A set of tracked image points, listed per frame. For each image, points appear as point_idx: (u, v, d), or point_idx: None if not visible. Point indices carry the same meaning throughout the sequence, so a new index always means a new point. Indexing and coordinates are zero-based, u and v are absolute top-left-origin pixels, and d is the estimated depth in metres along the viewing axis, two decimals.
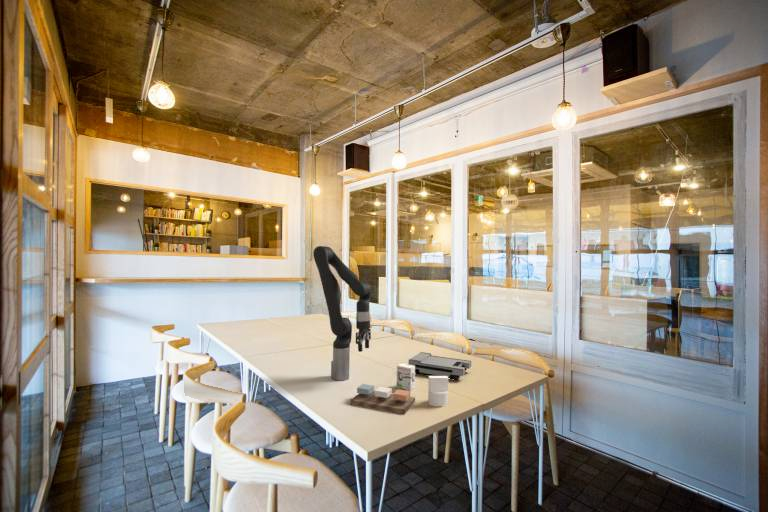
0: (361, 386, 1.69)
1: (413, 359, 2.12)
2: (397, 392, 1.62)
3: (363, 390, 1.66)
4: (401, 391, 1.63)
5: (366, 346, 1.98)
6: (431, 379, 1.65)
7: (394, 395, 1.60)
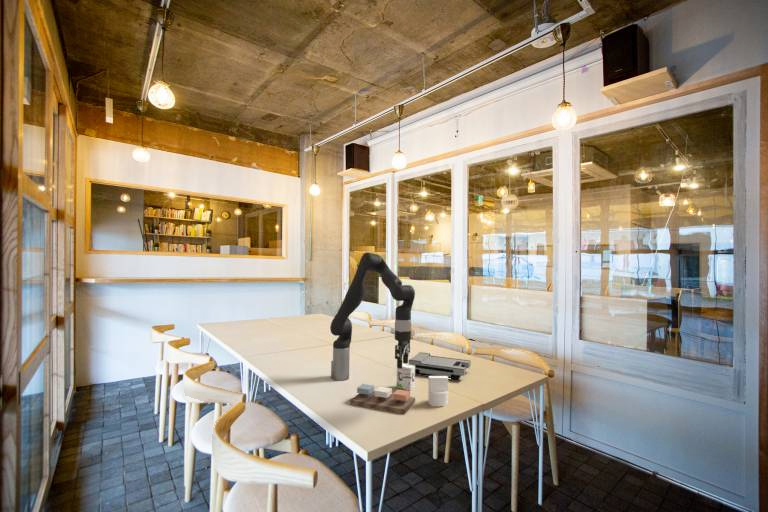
0: (361, 386, 1.69)
1: (413, 359, 2.11)
2: (397, 392, 1.62)
3: (363, 390, 1.66)
4: (401, 391, 1.63)
5: (404, 361, 1.66)
6: (431, 379, 1.65)
7: (394, 395, 1.60)
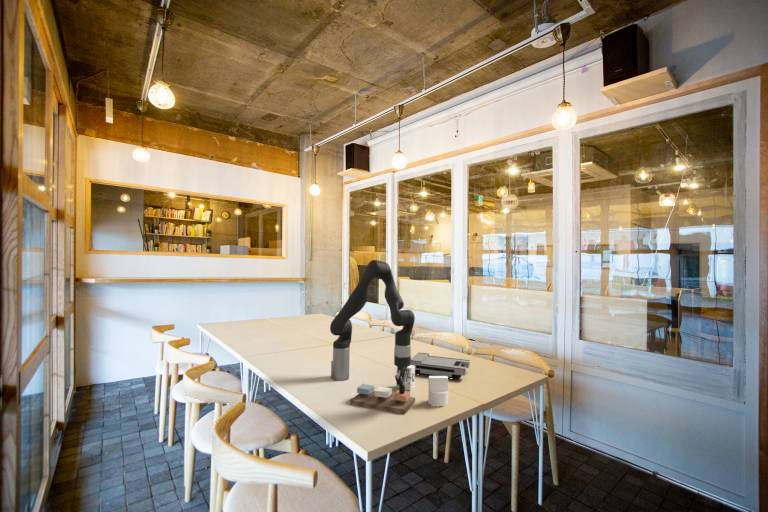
0: (361, 386, 1.69)
1: (413, 360, 2.10)
2: (397, 393, 1.62)
3: (363, 390, 1.66)
4: None
5: None
6: (431, 379, 1.65)
7: (394, 396, 1.60)
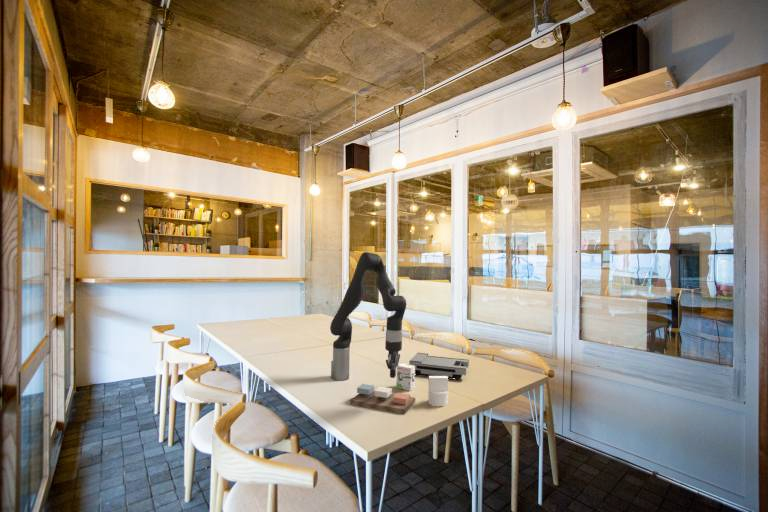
0: (361, 386, 1.69)
1: (414, 360, 2.09)
2: (397, 395, 1.62)
3: (363, 390, 1.66)
4: (401, 394, 1.63)
5: None
6: (431, 379, 1.65)
7: (394, 398, 1.60)
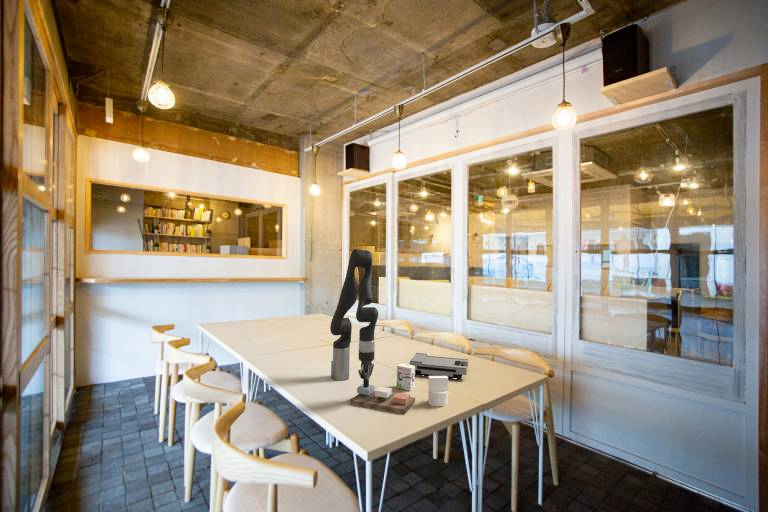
0: (361, 386, 1.69)
1: (414, 360, 2.09)
2: (397, 395, 1.62)
3: (363, 390, 1.66)
4: (401, 394, 1.63)
5: None
6: (431, 379, 1.65)
7: (394, 398, 1.60)
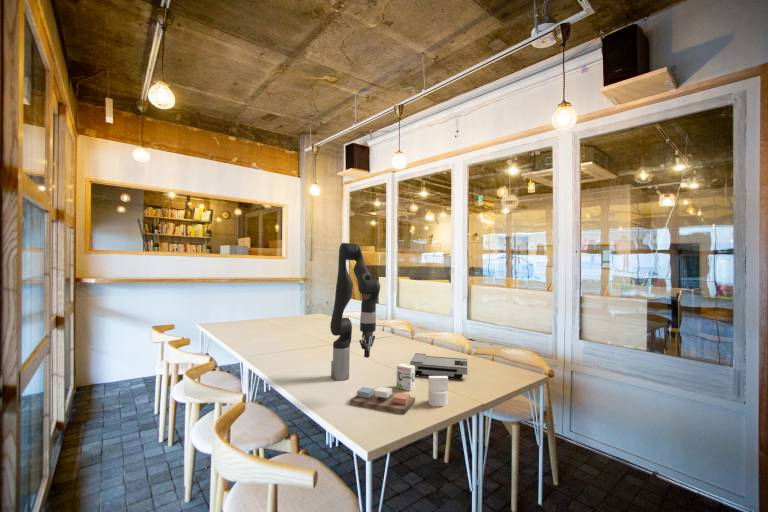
0: (361, 389, 1.69)
1: (414, 361, 2.08)
2: (397, 395, 1.62)
3: (363, 393, 1.66)
4: (401, 394, 1.63)
5: None
6: (431, 379, 1.65)
7: (394, 398, 1.60)
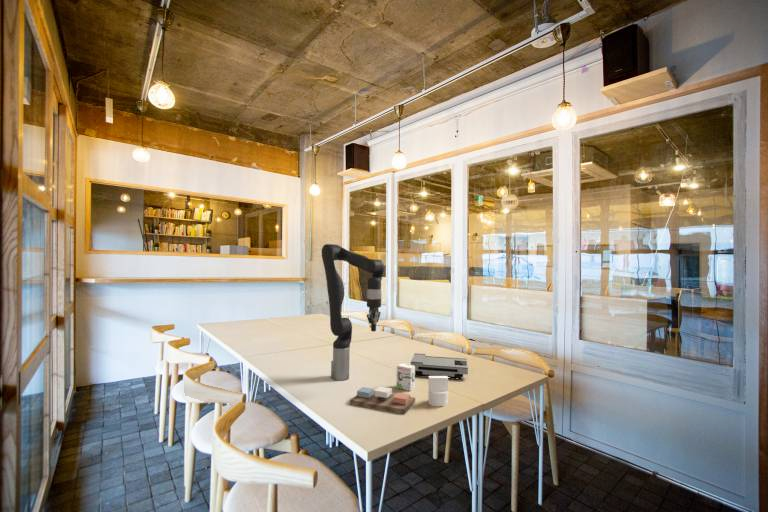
0: (361, 389, 1.69)
1: (414, 361, 2.07)
2: (397, 395, 1.62)
3: (363, 393, 1.66)
4: (401, 394, 1.63)
5: None
6: (431, 379, 1.65)
7: (394, 398, 1.60)
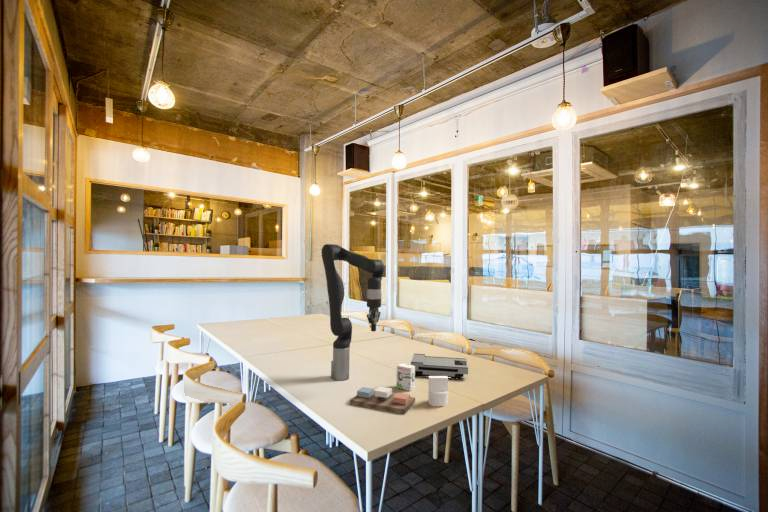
0: (361, 389, 1.69)
1: (415, 361, 2.07)
2: (397, 395, 1.62)
3: (363, 393, 1.66)
4: (401, 394, 1.63)
5: None
6: (431, 379, 1.65)
7: (394, 398, 1.60)
